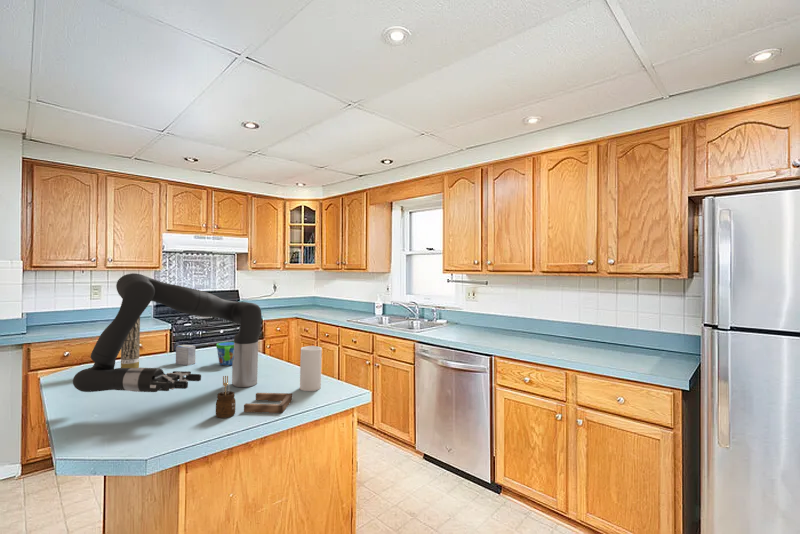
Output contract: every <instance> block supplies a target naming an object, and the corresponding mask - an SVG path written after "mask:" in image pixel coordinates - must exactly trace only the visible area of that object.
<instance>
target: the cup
mask: <svg viewBox="0 0 800 534" xmlns="http://www.w3.org/2000/svg"><path fill="white" fill-rule="evenodd" d="M322 350H323V348H322V347H321V346H318V345H317V346H316V345H307V346H302V347H300V362H299V363H300V364H299V365H300V367H299V368H300V370H299V373H300V374H299V390H301V391H304V392H315V391H318V390H320V389H321V387H322V352H323V351H322Z"/></svg>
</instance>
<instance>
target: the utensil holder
mask: <svg viewBox="0 0 800 534" xmlns="http://www.w3.org/2000/svg"><path fill="white" fill-rule="evenodd" d="M227 386H228V389H227ZM216 398H217V399H216V402H215V416H216V417H217V418H219V419H226V418H231V417H233V416H235V414H236V398H235V392H234V391H231V390H230V384H229V375H223V376H222V391H221V392H218V393H217V396H216Z"/></svg>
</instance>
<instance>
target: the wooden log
mask: <svg viewBox="0 0 800 534" xmlns="http://www.w3.org/2000/svg"><path fill="white" fill-rule="evenodd" d="M140 332H141V316H140V317H139V319H138V320H137V322H136V323H135V325H134V326H133V328H132V329H131V331H130V332H129V334H128V336H127V338H126V340H125V342H124V344H123V346H122V348H121V350H120V368H140V343H141V342H140V341H141V340H140V339H141V338H140V336H141V333H140Z"/></svg>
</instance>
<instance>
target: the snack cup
mask: <svg viewBox="0 0 800 534" xmlns="http://www.w3.org/2000/svg"><path fill="white" fill-rule="evenodd" d="M215 347H216V350H217V358H218V364H219V365H220V366H222V365H225V367H227V366H226V365H229V366H232V362H233V360H234V341H222V342H217V343H216V344H215Z"/></svg>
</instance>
